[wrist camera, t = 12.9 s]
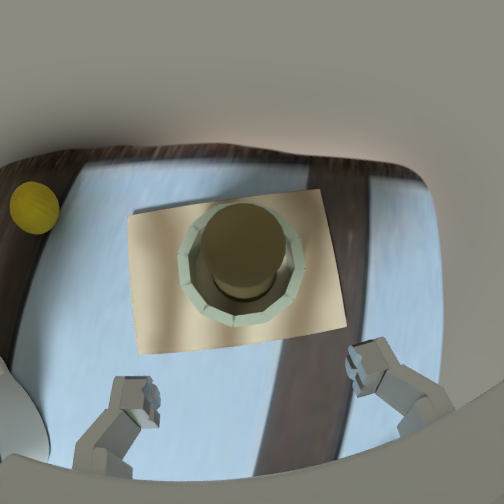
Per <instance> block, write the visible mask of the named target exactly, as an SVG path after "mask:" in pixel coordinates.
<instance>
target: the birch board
mask: <svg viewBox="0 0 504 504" xmlns="http://www.w3.org/2000/svg"><path fill="white" fill-rule="evenodd" d="M241 201H248V203H249V201H252V202H254V203H257V204H260V205H262V206H265V207H268V208H270V209H273V210H275V211H278V213H280V214H281V215H282V216H283V217H284V218H285V219H286V221H287V222H288V223H289V224H290V225H291V226H292V228H293V229H294V230H295V231H296V232H297V234H298V235H299V238H300V239H301V244H302V249H303V255H304V260H305V266H306V269H305V270H306V271H305V274H304V276H303V279H302V282H301V285H300V287H299V290H298V293H297V295H296V298H295V300H293V301H294V302H292V303H291V304H290V305H289V306H288V307H286V308H285V309H284V310H283V311H281V312H280V313H279V314H278V315H276V316H275V317H274V318H273V319H271V320H270V321H269V322H266V323H262V324H255V325H248V326H241V327H234V326H233V327H230V326H228V325H225V324H223V323H220V322H218V321H215V320H213V319H211V318H208V317H206V316H204V315H201V314H202V313H199V311H198V310H197V309H196V307H195V306H194V305H193V303H192V302H191V301H190V299H189V298H188V297H187V295H186V294H185V293H184V291H183V290H182V288H181V287H182V286H180V279H179V269H178V259H177V255H178V250H179V248H180V246H181V244H182V242H183V239H184V237H185V235H186V233H187V231H188V228H189V226H190V225H192V224H191V223H193V222H194V221H195V220H197V219H198V218H199V217H201V216H202V215H203V214H205V213H206V212H208V211H209V210H210V209H212V208H213V207H214V206H217V207H218V205H219V204H226V203H233V202H241ZM127 221H128V256H129V274H130V288H131V299H132V310H133V319H134V327H135V335H136V342H137V349H138V355H146V354H162V353H176V352H187V351H198V350H207V349H216V348H225V347H233V346H241V345H248V344H255V343H262V342H268V341H274V340H280V339H286V338H292V337H298V336H303V335H308V334H314V333H319V332H324V331H329V330H333V329H338V328H343V327H347V325H346V318H345V312H344V306H343V299H342V294H341V288H340V282H339V277H338V271H337V266H336V261H335V256H334V251H333V246H332V241H331V236H330V232H329V227H328V222H327V218H326V214H325V209H324V205H323V201H322V197H321V193H320V189H314V190H304V191H294V192H285V193H276V194H267V195H259V196H251V197H243V198H235V199H228V200H221V201H214V202H207V203H200V204H194V205H187V206H181V207H175V208H169V209H163V210H157V211H152V212H146V213H140V214H135V215H130V216H127ZM192 226H193V225H192ZM195 267H196V276H197V284H198V288H199V289H200V290H201V292H202V293H203V294H204V296H205V297H206V298H207V300H208V301H209V302H210V304H211V305H212V306H213V307H215V308H217V309H220V310H222V311H225V312H227V313H230V314H232V315H235V316H238V315H245V314H252V313H259V312H262V311H263V310H264V309H266V308H267V307H268V306H269V305H271V304H272V303H273V302H274V301H276V300H277V299H278V298H279V297H280V296H281V293H282V291H283V288H284V286H285V283H286V280H287V278H288V275H289V272H288V266H287V260H286V254H285V256H284V259H283V262H282V265H281V267H280V268H279V269H278V270H277V275H276V279H275V282H274V285H273V287H272V288H271V289H270V291H269V292H268V293H267V294H266V295H265V296H263V297H262V298H260V299H259V300H256V301H252V302H248V303H244V302H236V301H233V300H231V299H228V298H227V297H225V296H224V295H223V294H222V293H221V292H219V290H218V288H217V287H216V285H215V283H214V280H213V276H212V274H211V273H210V271H209V269H208V268H207V266H206V265H205V263H204V261H203V257H202V253H201V250H200V253H199V255H198V257H197V260H196V262H195Z"/></svg>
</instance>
